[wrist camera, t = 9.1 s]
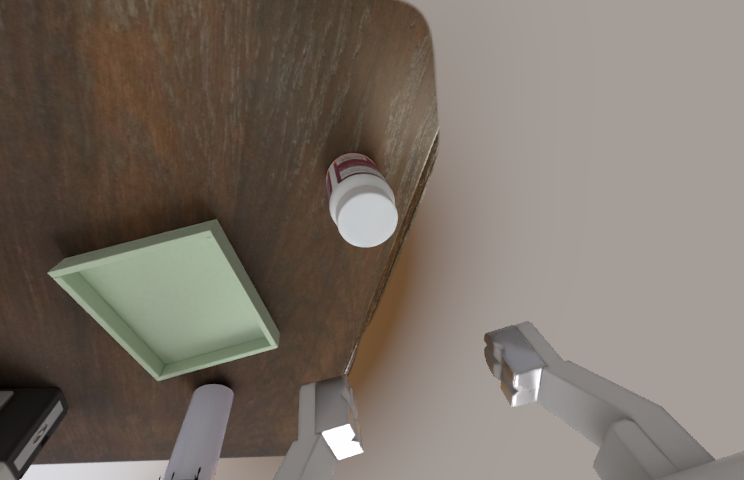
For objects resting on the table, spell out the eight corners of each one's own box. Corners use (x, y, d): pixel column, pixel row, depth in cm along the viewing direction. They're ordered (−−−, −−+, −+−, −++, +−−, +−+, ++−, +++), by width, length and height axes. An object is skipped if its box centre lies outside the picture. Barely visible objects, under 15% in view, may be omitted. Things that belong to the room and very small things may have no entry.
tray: (64, 258, 26) (46, 272, 24) (216, 218, 26) (209, 230, 24) (165, 364, 34) (157, 381, 32) (280, 332, 34) (278, 347, 32)
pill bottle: (360, 212, 28) (376, 263, 21) (315, 187, 26) (317, 234, 19) (389, 170, 27) (418, 210, 19) (344, 140, 25) (358, 172, 17)
